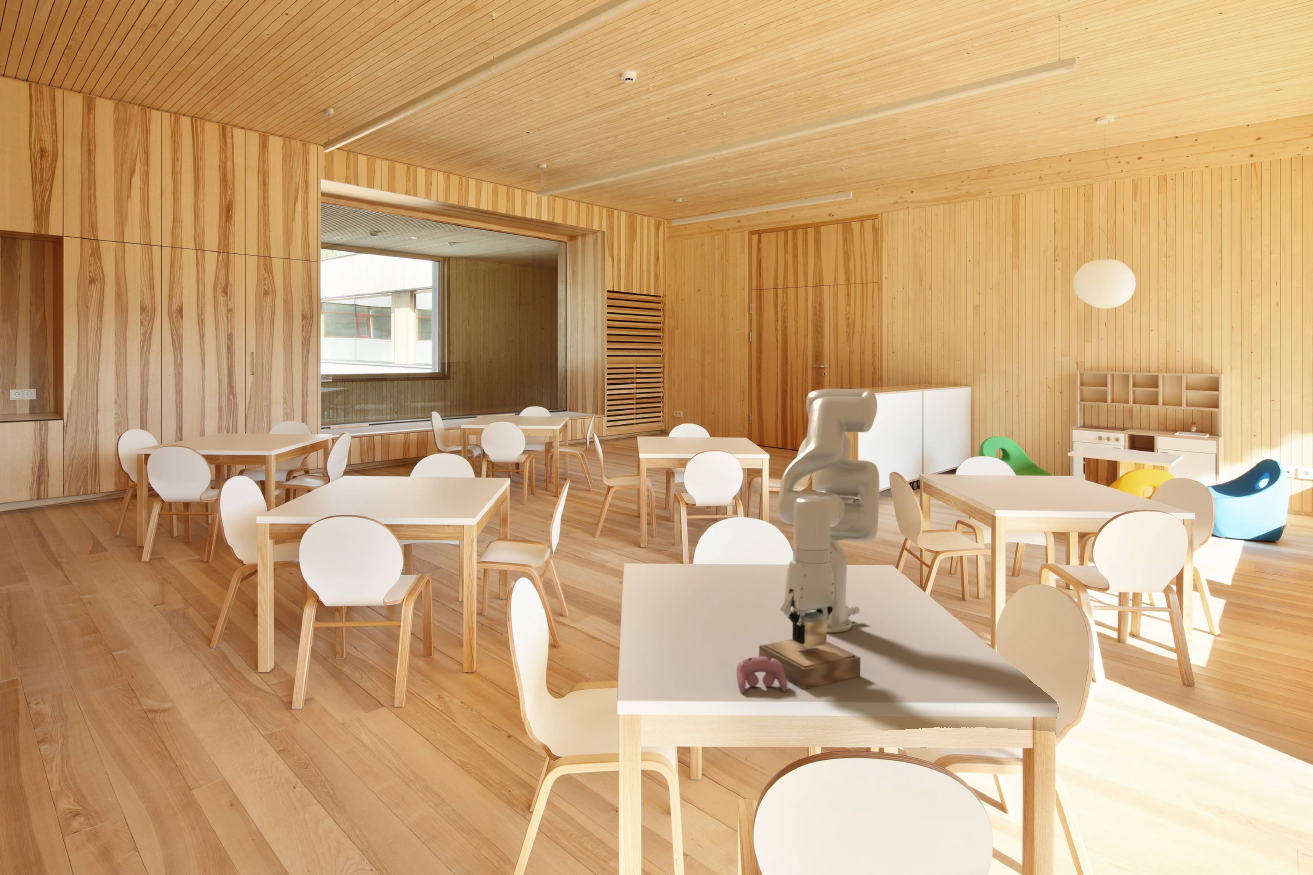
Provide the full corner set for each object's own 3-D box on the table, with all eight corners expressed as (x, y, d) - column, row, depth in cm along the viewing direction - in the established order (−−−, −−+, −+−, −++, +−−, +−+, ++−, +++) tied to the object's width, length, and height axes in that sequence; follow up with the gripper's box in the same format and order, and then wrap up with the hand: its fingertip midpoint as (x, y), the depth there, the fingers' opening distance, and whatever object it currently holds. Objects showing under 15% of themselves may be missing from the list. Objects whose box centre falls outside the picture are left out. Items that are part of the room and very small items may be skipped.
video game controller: (784, 693, 146) (781, 657, 148) (789, 691, 141) (786, 654, 144) (735, 693, 145) (733, 657, 148) (739, 692, 141) (737, 655, 143)
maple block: (810, 636, 157) (811, 609, 156) (826, 644, 152) (827, 615, 152) (792, 640, 154) (792, 612, 154) (807, 647, 150) (808, 619, 149)
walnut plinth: (812, 652, 164) (813, 633, 164) (859, 675, 151) (860, 655, 150) (758, 663, 157) (759, 644, 157) (803, 689, 144) (803, 668, 143)
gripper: (830, 548, 159) (828, 629, 160) (767, 555, 151) (765, 640, 152) (854, 555, 153) (851, 639, 154) (790, 563, 145) (788, 651, 146)
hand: (809, 639), depth 153 cm, fingers closed on maple block, 5 cm apart
